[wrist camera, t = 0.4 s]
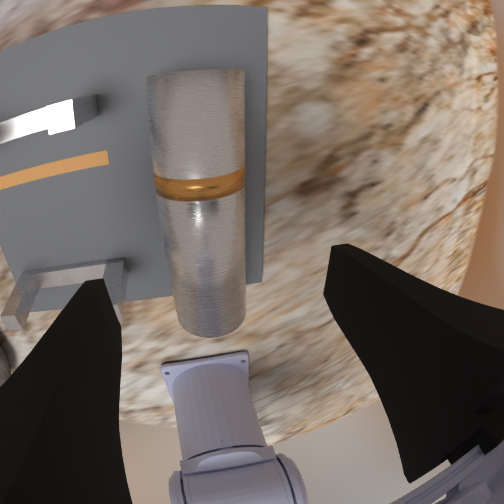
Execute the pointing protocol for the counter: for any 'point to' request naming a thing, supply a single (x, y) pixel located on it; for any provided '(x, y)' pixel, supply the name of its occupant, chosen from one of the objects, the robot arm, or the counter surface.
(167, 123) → the tube
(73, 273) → the collar
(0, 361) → the stone
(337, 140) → the counter surface
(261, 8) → the board
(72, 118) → the collar
